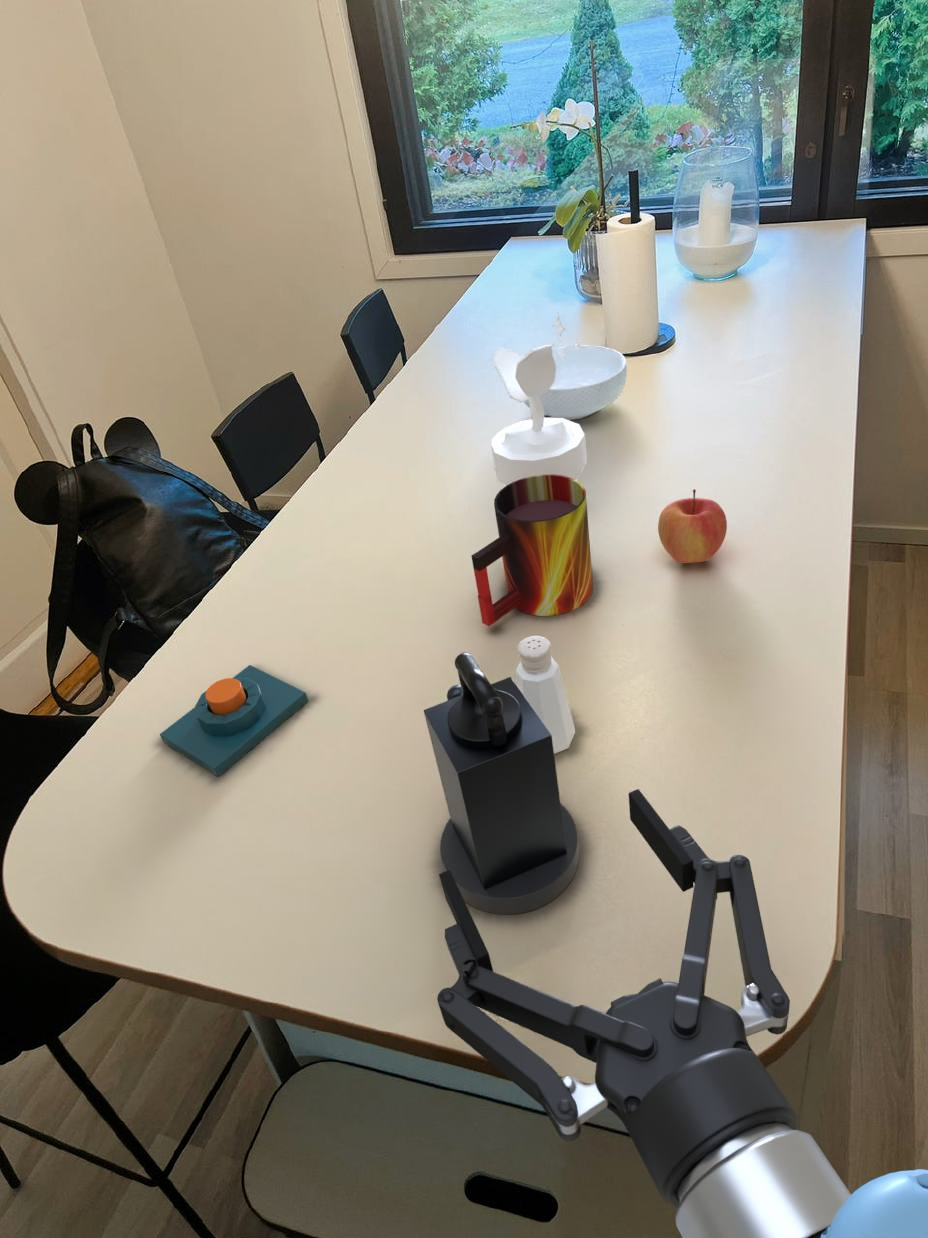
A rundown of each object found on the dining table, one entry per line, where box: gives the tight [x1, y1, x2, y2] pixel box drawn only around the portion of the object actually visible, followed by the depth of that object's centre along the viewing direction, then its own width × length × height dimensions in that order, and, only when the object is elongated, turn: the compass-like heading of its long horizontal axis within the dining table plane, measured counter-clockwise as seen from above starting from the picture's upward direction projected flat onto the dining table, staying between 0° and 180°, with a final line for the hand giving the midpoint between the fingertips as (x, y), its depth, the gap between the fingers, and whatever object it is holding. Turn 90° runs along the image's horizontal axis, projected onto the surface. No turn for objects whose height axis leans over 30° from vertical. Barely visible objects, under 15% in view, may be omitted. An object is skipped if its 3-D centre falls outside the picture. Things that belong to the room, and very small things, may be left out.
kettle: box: [423, 652, 567, 889], centre depth 66 cm, size 11×7×17 cm, turn 22°
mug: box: [470, 475, 594, 628], centre depth 93 cm, size 10×14×12 cm
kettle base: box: [439, 802, 580, 915], centre depth 70 cm, size 11×11×2 cm
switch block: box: [159, 664, 309, 778], centre depth 88 cm, size 12×9×3 cm
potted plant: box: [490, 313, 588, 486], centre depth 106 cm, size 13×12×25 cm
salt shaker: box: [515, 635, 577, 755], centre depth 77 cm, size 5×5×11 cm
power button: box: [205, 677, 246, 715], centre depth 87 cm, size 4×4×2 cm
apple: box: [657, 488, 728, 564], centre depth 96 cm, size 7×7×8 cm
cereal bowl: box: [523, 344, 628, 421], centre depth 132 cm, size 17×17×7 cm
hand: (542, 843), depth 57 cm, fingers open, 13 cm apart
